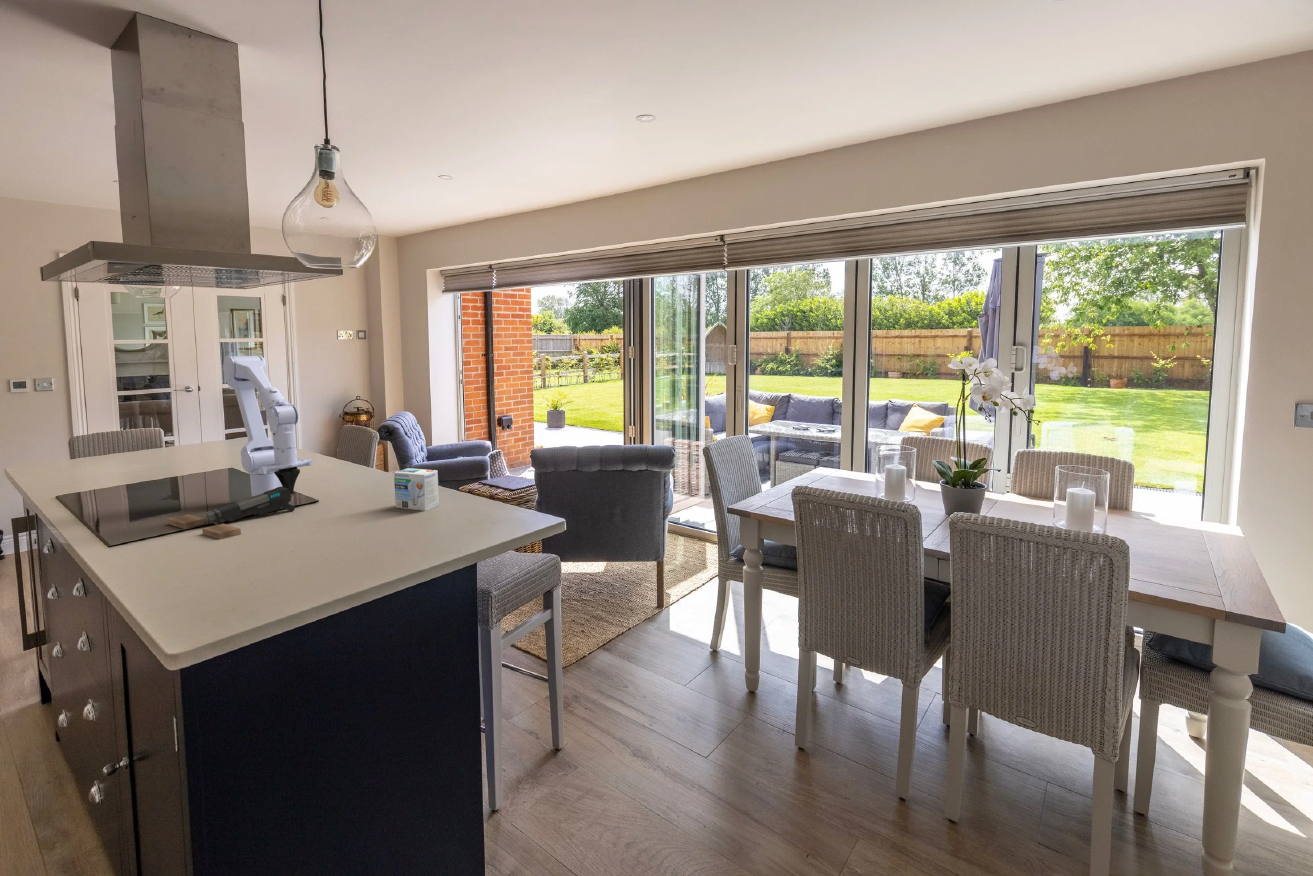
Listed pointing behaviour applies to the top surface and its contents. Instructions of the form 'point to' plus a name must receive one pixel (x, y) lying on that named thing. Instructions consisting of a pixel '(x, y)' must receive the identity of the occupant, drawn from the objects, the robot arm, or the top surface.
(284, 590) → the top surface
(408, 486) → the light bulb box
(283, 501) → the gun
